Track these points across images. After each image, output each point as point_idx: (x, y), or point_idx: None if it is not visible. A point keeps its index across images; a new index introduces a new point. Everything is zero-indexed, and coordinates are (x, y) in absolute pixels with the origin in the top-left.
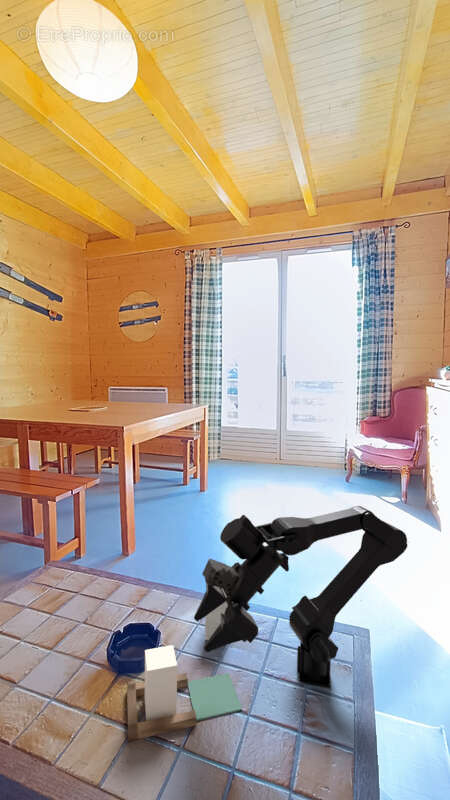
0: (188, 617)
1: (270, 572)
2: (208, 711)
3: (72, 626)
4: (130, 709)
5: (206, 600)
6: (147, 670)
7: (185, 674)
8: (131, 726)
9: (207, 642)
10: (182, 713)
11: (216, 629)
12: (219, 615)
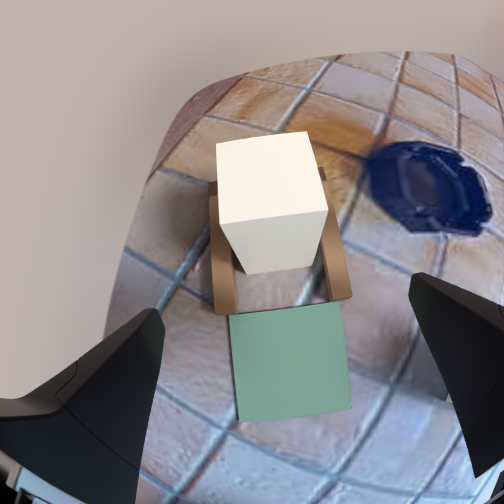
0: None
1: None
2: (243, 346)
3: (447, 101)
4: None
5: (492, 341)
6: (217, 144)
7: (347, 293)
8: None
9: (134, 324)
10: (230, 282)
11: (85, 381)
12: None
